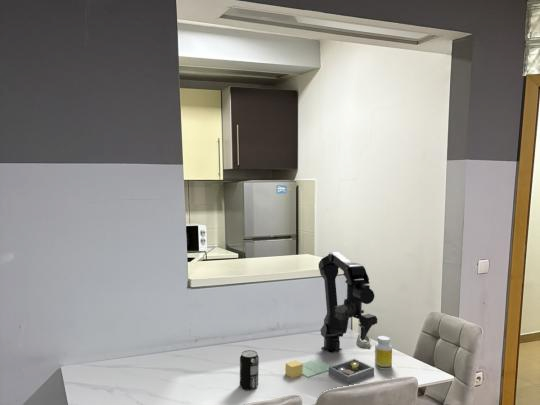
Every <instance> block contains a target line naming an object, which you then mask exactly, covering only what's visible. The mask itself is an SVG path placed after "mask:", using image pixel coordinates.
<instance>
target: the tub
mask: <svg viewBox="0 0 540 405" xmlns="http://www.w3.org/2000/svg"><path fill="white" fill-rule="evenodd" d="M351 362H357V363H359V370H358V371H353V372H354V374H351V375H346V374H344V373H342V372H340V371H338V368H339V367H344V368H346V370H350V371H352V370H351ZM328 375H330V376H331V377H334V378H336V379H337V380H340V381H342V382H343V383H344V384H347V385H350V384H352V383H355V382H358V381H360V380H363V379H365V378H368V377H371V376H374V375H375V367H374V366H372V365H369V364H367V363H365V362H363V361H360V360H359V359H356V358H351V359H349V360H346V361H343V362H340V363H339V362H338V363H337V364H332V365H330V367H329V371H328Z"/></svg>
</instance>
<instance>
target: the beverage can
mask: <svg viewBox="0 0 540 405" xmlns="http://www.w3.org/2000/svg"><path fill="white" fill-rule="evenodd" d="M259 360H260V359H259V355H258V352H257V351H256V350H250V349H247V350H243V351H241V353H240V357H239V387H240V388H241V389H242V390H244V391H253V390H256V389H257V387H258V386H259V369H260V368H259V364H260V363H259Z"/></svg>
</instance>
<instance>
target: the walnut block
mask: <svg viewBox="0 0 540 405" xmlns="http://www.w3.org/2000/svg"><path fill="white" fill-rule="evenodd" d="M343 373H344V374H346V375H351V374H354V372H353V371H350V370H346V371H344V372H343Z"/></svg>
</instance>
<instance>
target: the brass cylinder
mask: <svg viewBox="0 0 540 405" xmlns="http://www.w3.org/2000/svg"><path fill="white" fill-rule="evenodd" d="M351 370H352V371H358V370H359V363H357V362H351Z"/></svg>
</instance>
